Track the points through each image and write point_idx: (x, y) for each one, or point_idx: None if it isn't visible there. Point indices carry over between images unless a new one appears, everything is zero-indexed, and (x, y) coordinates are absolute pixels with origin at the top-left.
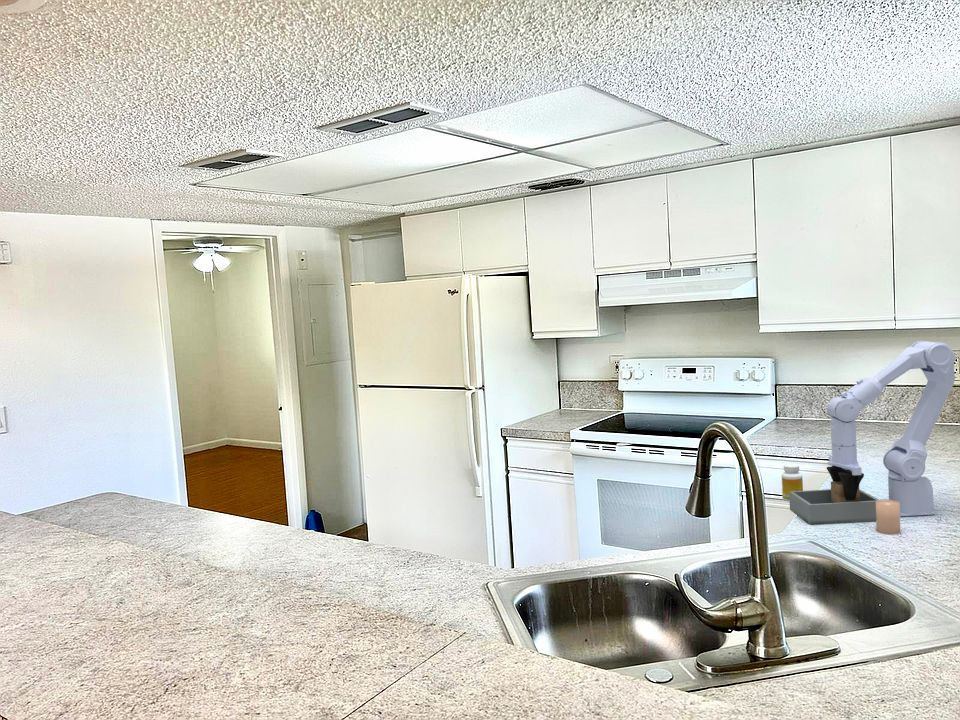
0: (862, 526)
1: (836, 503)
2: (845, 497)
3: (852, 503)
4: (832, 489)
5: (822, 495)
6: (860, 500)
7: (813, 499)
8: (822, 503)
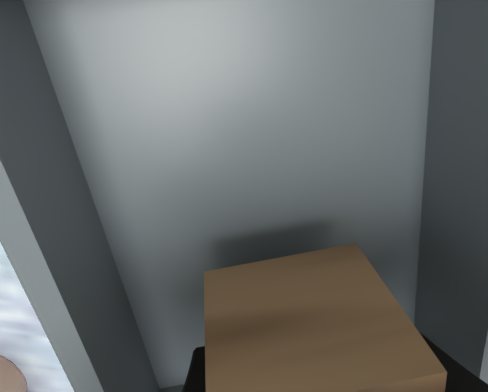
0: None
1: (16, 264)
2: None
3: (66, 368)
4: (367, 317)
5: (474, 208)
6: None
7: (461, 125)
8: (434, 179)
